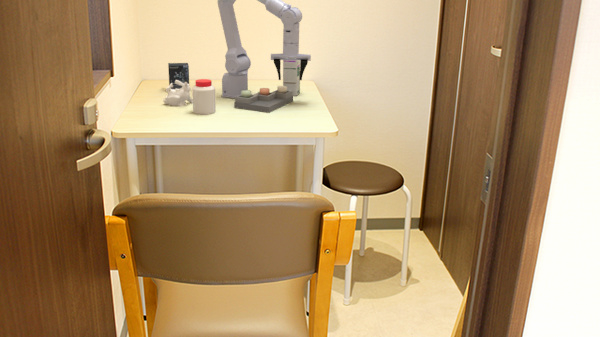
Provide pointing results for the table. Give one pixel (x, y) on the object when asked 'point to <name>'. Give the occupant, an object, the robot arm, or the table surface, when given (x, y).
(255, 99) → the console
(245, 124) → the table surface
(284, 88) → the button cream
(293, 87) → the syrup box
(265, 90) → the button terracotta
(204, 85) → the pill bottle
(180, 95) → the rabbit figurine
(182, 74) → the box
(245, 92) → the button sage
